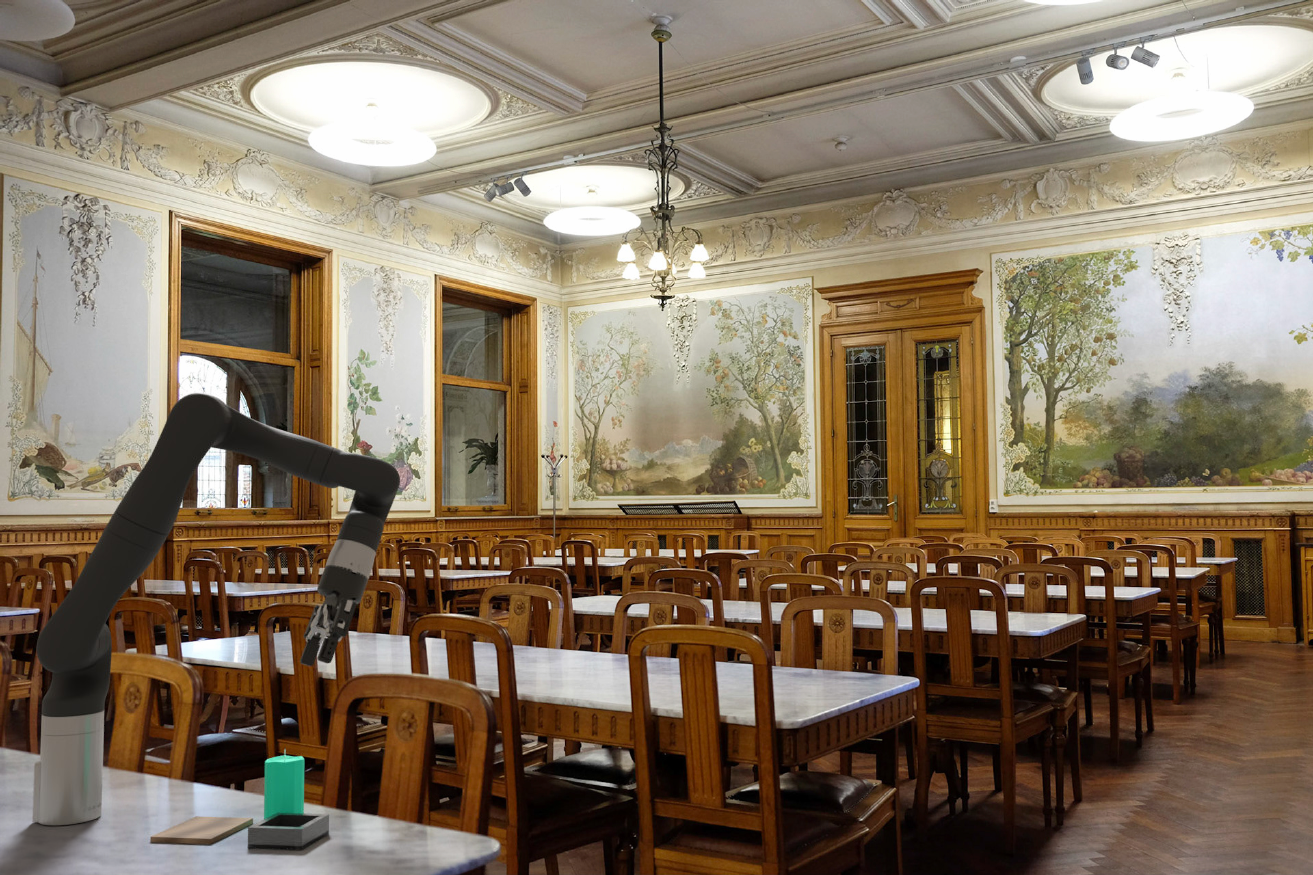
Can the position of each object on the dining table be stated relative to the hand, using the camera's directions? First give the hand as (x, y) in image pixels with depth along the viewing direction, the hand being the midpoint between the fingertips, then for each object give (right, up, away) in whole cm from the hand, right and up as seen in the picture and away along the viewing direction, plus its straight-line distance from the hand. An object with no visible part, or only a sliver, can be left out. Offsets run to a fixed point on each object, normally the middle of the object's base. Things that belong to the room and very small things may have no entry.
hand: (314, 663), depth 181 cm
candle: (-3, -25, -7) cm, 26 cm away
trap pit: (+1, -24, -15) cm, 28 cm away
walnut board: (-14, -24, -10) cm, 30 cm away
